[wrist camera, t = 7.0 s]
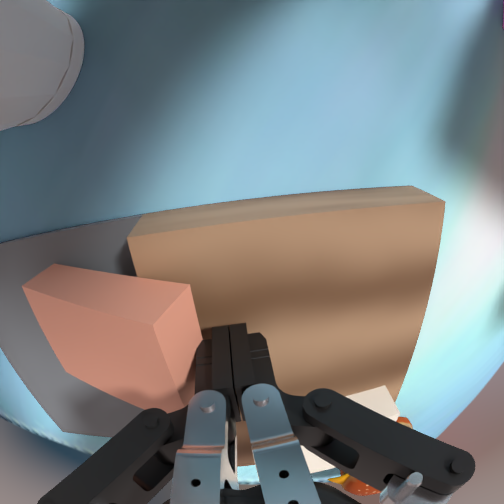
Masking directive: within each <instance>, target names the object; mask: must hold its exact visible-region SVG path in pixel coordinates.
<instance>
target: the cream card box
mask: <svg viewBox="0 0 504 504" xmlns="http://www.w3.org/2000/svg"><path fill="white" fill-rule="evenodd" d="M345 397H347V398H349V399H351V400H353V401H355V402H357V403H359V404H361V405H363V406H365V407H367V408H369V409H371V410H373V411H375V412H377V413H379V414H381V415H383V416H385V417H387V418H390V419H392V420H394V421H397V419H398V416H399V414H400V412H399V410H398V408H397V406H396V405H395V403H394V401H393V399H392V397H391V395H390V393H389V391H388V390H387V388H386V386H385V385H384V386H381V387H377V388H374V389H371V390H367V391H363V392H360V393H356V394H352V395H348V396H345ZM301 449H302V451H303V454H304V457H305V460H306V463H307V465H308V468H309V471H310V473H315V472H319V471H323V470H328V469H332V468H335V466H333V465H331V464H330V463H328V462H326V461H325V460H323V459H321V458H320V457H318V456H316V455H315V454H313V453H312V452H310V451H308V450H307V449H306V448H305V447H304V446H301ZM252 452H253V451H252ZM253 456H254V455H253ZM254 461H255V460H254ZM255 465H256V464H255ZM256 469H257V468H256ZM257 473H258V472H257ZM258 478H259V476H258ZM259 482H260V481H259Z"/></svg>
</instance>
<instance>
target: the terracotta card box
mask: <svg viewBox="0 0 504 504" xmlns="http://www.w3.org/2000/svg"><path fill="white" fill-rule="evenodd" d="M22 288H23V290H24V293H25V295H26V297H27V300H28V302H29V304H30V306H31V308H32V310H33V312H34V315H35V317H36V319H37V321H38V323H39V325H40V327H41V329H42V331H43V332H44V334H45V336H46V338H47V340H48V342H49V344H50V346H51V347H52V349H53V351H54V353H55V354H56V356H57V358H58V360H59V361H60V363H61V365H62V366H63V368H64V369H65V371H66V372H67V373H69V374H71V375H73V376H74V377H76V378H78V379H80V380H82V381H84V382H86V383H88V384H90V385H92V386H94V387H96V388H98V389H100V390H102V391H104V392H106V393H108V394H110V395H112V396H114V397H116V398H119V399H121V400H123V401H125V402H128V403H130V404H132V405H135V406H137V407H139V408H142V409H144V410H146V409H149V408H159V409H162V410H164V411H165V412H166V413H167V414H168V413H171V412H174V411H177V410H180V409H182V408H184V407H186V406H187V405H188V404H189V401H190V399H191V398H192V397H193V396H194V393H195V370H196V349H197V347H198V345H199V344H200V343H201V341H202V340H203V338H202V334H201V330H200V326H199V322H198V318H197V314H196V309H195V305H194V301H193V296H192V292H191V287H190V284H183V283H176V282H168V281H161V280H154V279H147V278H140V277H133V276H127V275H120V274H114V273H107V272H101V271H95V270H89V269H83V268H77V267H71V266H65V265H60V264H53V265H51V266H50V267H48V268H47V269H45V270H44V271H42V272H41V273H39V274H38V275H37V276H35V277H34V278H32V279H31V280H29V281H28V282H27V283H25V284H24V285H22Z"/></svg>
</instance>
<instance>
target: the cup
mask: <svg viewBox="0 0 504 504" xmlns="http://www.w3.org/2000/svg"><path fill="white" fill-rule="evenodd" d="M83 57H84V37H83V33H82V30H81V28H80V26H79V24H78V22H77V21H76V20H75V19H74V18H73V17H72V16H70V15H69V14H67V13H65V12H63V11H62V10H60V9H58V8H56V7H54V6H53V5H52V4H50V3H49V2H48V1H46V0H0V131H2V130H5V129H8V128H12V127H16V126H22V125H29V124H33V123H36V122H38V121H41V120H42V119H44V118H46V117H47V116H49V115H50V114H51V113H52V112H54V111H55V110H56V109H57V108H58V107H59V106H60V105H61V104H62V102H63V101H64V100H65V99H66V97H67V96H68V94H69V93H70V91H71V90H72V88H73V86H74V84H75V82H76V80H77V78H78V75H79V73H80V70H81V66H82V62H83Z"/></svg>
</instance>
